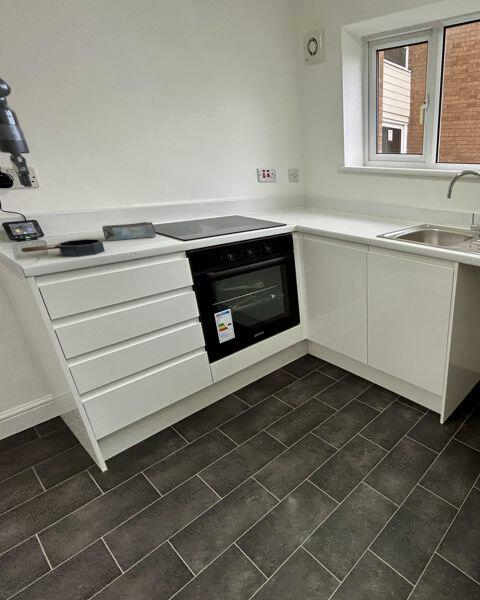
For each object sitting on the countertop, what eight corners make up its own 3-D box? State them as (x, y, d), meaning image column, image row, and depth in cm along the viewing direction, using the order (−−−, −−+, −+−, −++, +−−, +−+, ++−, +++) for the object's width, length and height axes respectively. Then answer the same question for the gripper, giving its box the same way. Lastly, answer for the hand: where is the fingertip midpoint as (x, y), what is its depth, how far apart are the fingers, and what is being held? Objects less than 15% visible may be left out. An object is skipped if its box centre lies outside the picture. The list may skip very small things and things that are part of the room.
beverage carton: (105, 238, 161) (101, 223, 159) (155, 234, 172) (152, 221, 170) (105, 241, 155) (101, 226, 153) (157, 237, 166) (153, 223, 164)
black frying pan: (27, 263, 121) (22, 251, 120) (22, 256, 129) (18, 245, 127) (107, 252, 137) (104, 242, 136) (99, 247, 145) (96, 237, 143)
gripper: (-7, 138, 127) (10, 185, 133) (-4, 137, 119) (14, 187, 125) (23, 139, 132) (37, 184, 138) (27, 139, 124) (43, 187, 130)
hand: (26, 186), depth 131 cm, fingers open, 8 cm apart
